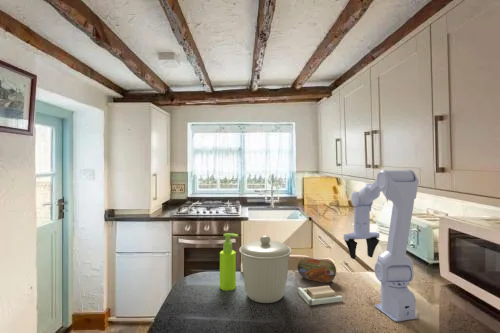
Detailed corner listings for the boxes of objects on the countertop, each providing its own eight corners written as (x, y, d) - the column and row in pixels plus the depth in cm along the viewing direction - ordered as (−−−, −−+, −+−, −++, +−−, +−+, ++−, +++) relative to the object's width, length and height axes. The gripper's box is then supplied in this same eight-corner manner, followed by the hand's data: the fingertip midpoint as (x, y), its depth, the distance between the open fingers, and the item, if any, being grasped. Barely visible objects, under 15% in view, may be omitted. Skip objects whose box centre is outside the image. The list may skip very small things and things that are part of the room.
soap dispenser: (236, 291, 103) (236, 236, 102) (217, 289, 104) (217, 235, 104) (240, 284, 108) (239, 232, 108) (222, 283, 110) (222, 231, 110)
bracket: (342, 301, 96) (342, 295, 96) (309, 305, 93) (309, 299, 93) (328, 289, 104) (328, 284, 104) (298, 293, 101) (298, 287, 101)
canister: (289, 312, 88) (289, 244, 88) (233, 306, 92) (233, 241, 92) (292, 287, 106) (293, 230, 106) (245, 283, 110) (245, 228, 110)
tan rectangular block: (334, 300, 97) (334, 291, 97) (313, 303, 95) (313, 294, 95) (327, 293, 102) (327, 285, 102) (306, 296, 100) (306, 288, 100)
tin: (297, 277, 116) (297, 256, 116) (299, 274, 118) (299, 254, 118) (335, 284, 109) (335, 262, 108) (336, 281, 111) (337, 260, 111)
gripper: (371, 219, 117) (371, 252, 117) (339, 221, 113) (339, 255, 113) (383, 223, 110) (383, 258, 110) (349, 225, 106) (349, 261, 107)
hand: (361, 257), depth 111 cm, fingers open, 7 cm apart
